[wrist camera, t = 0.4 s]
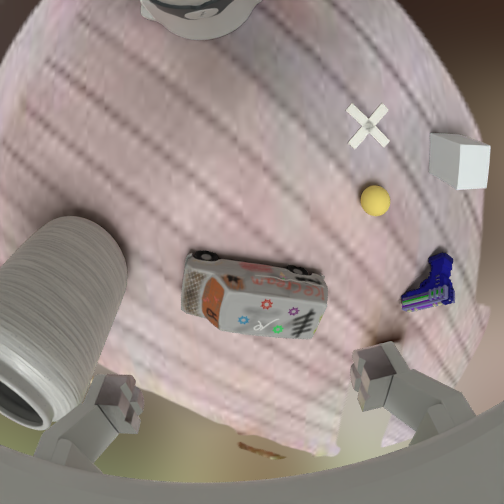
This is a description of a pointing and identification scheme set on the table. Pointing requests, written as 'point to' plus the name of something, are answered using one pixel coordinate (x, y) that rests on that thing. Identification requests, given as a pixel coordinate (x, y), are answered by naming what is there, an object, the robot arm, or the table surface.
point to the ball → (375, 200)
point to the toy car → (253, 296)
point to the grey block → (459, 160)
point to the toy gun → (432, 286)
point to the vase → (56, 317)
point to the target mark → (367, 125)
